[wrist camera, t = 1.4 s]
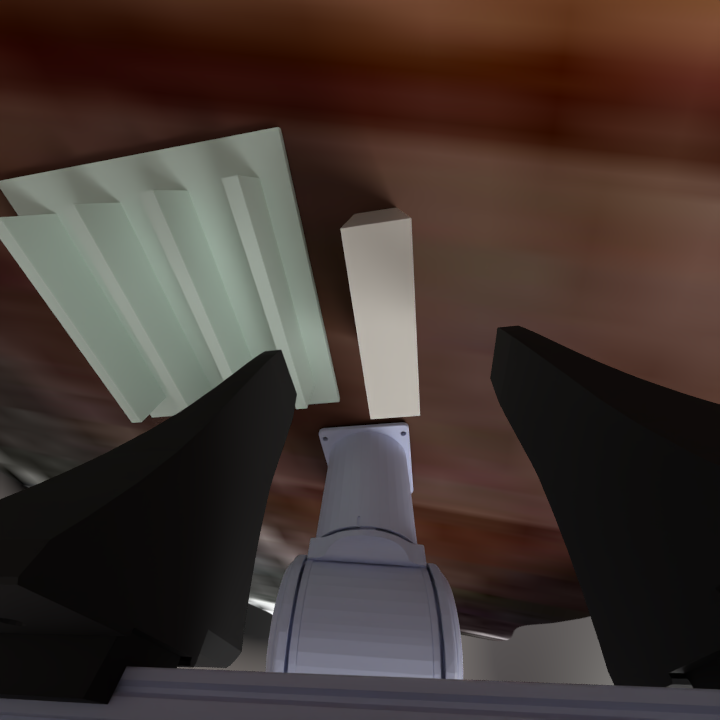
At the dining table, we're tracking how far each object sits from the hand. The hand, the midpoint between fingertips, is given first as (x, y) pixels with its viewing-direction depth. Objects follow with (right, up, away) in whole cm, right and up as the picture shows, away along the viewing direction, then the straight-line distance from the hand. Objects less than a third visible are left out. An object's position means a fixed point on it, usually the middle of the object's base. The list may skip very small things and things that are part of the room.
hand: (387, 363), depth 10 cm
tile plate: (+1, +5, +9) cm, 11 cm away
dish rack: (-12, +4, +11) cm, 17 cm away
